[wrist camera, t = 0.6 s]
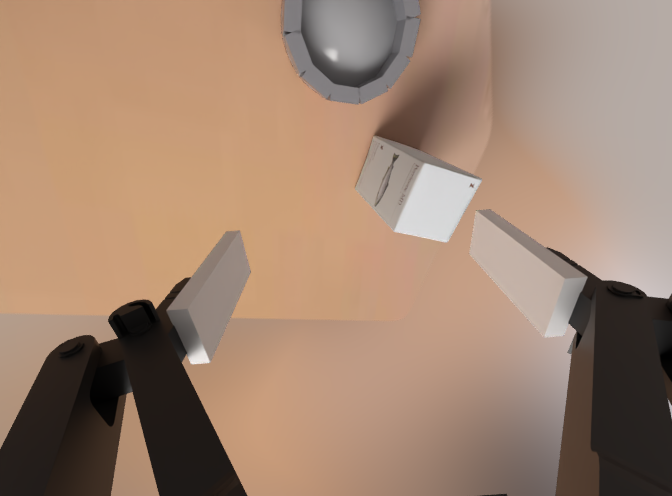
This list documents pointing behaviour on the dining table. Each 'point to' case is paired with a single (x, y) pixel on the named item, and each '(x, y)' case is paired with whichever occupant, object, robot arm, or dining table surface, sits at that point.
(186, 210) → the dining table surface
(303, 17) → the round holder
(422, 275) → the dining table surface
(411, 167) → the supplement box
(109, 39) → the dining table surface
